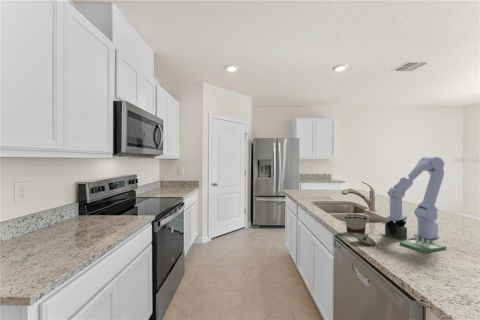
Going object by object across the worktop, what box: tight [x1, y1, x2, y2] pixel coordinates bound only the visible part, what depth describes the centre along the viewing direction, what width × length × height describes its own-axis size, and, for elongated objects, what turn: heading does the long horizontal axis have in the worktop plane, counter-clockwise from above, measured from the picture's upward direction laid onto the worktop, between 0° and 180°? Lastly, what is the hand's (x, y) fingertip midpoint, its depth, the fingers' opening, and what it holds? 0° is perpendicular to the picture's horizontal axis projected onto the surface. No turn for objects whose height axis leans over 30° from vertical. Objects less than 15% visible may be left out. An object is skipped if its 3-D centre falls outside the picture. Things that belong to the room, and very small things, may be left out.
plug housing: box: [382, 222, 408, 240], centre depth 137 cm, size 4×12×6 cm, turn 20°
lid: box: [353, 233, 377, 247], centre depth 126 cm, size 11×10×5 cm
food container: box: [344, 213, 369, 235], centre depth 144 cm, size 12×6×10 cm, turn 74°
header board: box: [399, 236, 447, 254], centre depth 120 cm, size 15×12×4 cm
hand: (395, 233), depth 136 cm, fingers open, 5 cm apart
